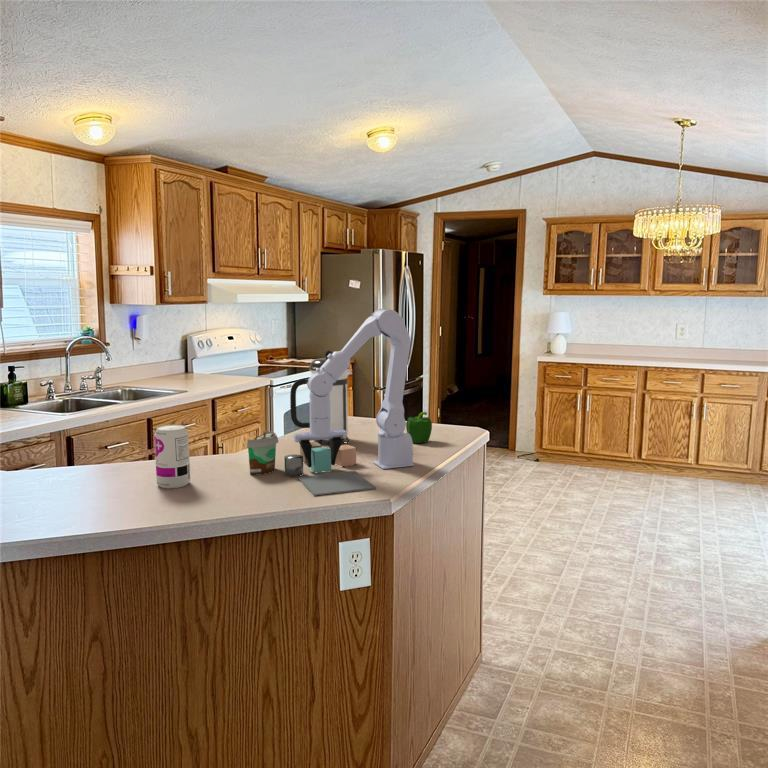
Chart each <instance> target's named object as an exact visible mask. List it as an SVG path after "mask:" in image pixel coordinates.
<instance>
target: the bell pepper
mask: <svg viewBox="0 0 768 768" xmlns="http://www.w3.org/2000/svg"><path fill="white" fill-rule="evenodd" d="M427 414H428V412H427V411H422V412H420V413H419V414H418V416H414V417H412V416H411V417H408V418H407V421H406V427H405V430H406V433H409V434H410V435H411V438H412V443H413V444H422V443H428V442H429V440H430V437H431V435H432V429H433V422H432V420H431V418H430V417H427ZM423 415H425V416H426V417H425V416H424V417H422V416H423Z"/></svg>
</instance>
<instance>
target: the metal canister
mask: <svg viewBox="0 0 768 768" xmlns="http://www.w3.org/2000/svg"><path fill="white" fill-rule="evenodd" d="M302 474H303V475H304V463H303V456H302V455H300V454H296V453H295V454H287V455H285V456H284V476H285V475H286V476H285V477H287V476H292V477H291V478H294V477H293V476H300V475H302ZM303 475H302V476H303ZM300 477H301V476H300Z"/></svg>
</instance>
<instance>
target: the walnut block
mask: <svg viewBox="0 0 768 768" xmlns="http://www.w3.org/2000/svg"><path fill="white" fill-rule="evenodd" d="M309 442H310V444H311V445H312V448H319V447H322V445H321V444H319V443H317V442H315V441H309ZM299 453H300V454H299V455H302V456H303V462H304V463H307V461H306V458H305V454H304V452H303V449H302V447H301V445H300V444H299ZM304 463H303V464H304Z"/></svg>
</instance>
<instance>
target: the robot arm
mask: <svg viewBox="0 0 768 768" xmlns="http://www.w3.org/2000/svg"><path fill="white" fill-rule="evenodd" d="M382 335H383V336H384V337H385V338H386V340H387V341H389V343H390V344H391V345H390V352H389V361H388V362H389V363H388V369H387V377H386V385H385V393H384V399H383V401H382V402H381V405H380V409H379V411H378V413H377V414H376V416H375V417H376V418H375V423H376V424H377V426H378V428H379V430H378V432H377V444H378V445H377V455H378V456H377V458H378V459H377V460H373V462H372V463H374V464H375V465H376V466H378V467H380V468H381V469H382V470H386V469H387V470H389V469H395V468H406V467H413V466H415V465H414V462H413V460H414V458H413V455H414V454H413V453H414V451H413V450H414V449H413V448H414V447H413V446H414V443H413V442H412V438H411V435H410V434H409V433H407V432H404V431H405V430H406V422H407V421H406V419H405V407H404V403H403V400H404V392H405V385H406V376H407V370H408V362H409V357H410V347H411V336H410V334H409V332H408V330H407V327H406V324H405V319H404V318H403V316H401V315H400V314H399V313H398V312H397V311H395V310H393V309H385V308H379V309H376V310H374V312H373V313H371V316H369V317H367V318H366V319H365V320H364V322H363V323H362V324H361V325H360V327H359V328H358V329H357V330H356V331H355V332H354V334H353V336H351V338H350V339H349V340H348V341H347V343H346V344H345V345H344V347H343V348H342V349H341V350H338V351H336V350H335V351H333V352H332V354H329V355H328V356H327V357H328V359H327V360H326V362H325V363H324V364H323V365H322V366H321V367H320V368H317V369H316V371H317V372H318V373H315V374H313V375H311V376H310V375H309V378H308V379H309V380H308V383H307V384H306V385H307V388H308V390H309V422H310V428H309V431H307V432H301V433H294V434H293V441H294V442H295V443H298V444H299V446H300V445H301V447H302V449H303V452H304V454H305V458H306V461H307V464H306V467H308V468H311V467H312V462H311V449H312V445H311V444H310V442H313V441H315V440H323V439H329V440H328V441H329V449H330V450H331V466H336V465H335V461H336V456H337V453H338V451H339V448H340V446H341V445H343V441H342V439H341V438H343V439H345V438H347V437H348V434H347V431H345V430H331V410H330V392H331V390H332V387H333V383H335V382H336V381H337V380H338V378H339V377H340V376H341V375H342V374H343V373H344V372H345V370H346V369H347V368H348V369H349V367H350V366H351V358H352V357H353V356H354V355H355V354H356V353H357V352H359V350H360V348H362V347H363V346H364V345H365V344H366V342H367V341H368V340H369V339H371V338H375V337H377V336H382Z"/></svg>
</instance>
